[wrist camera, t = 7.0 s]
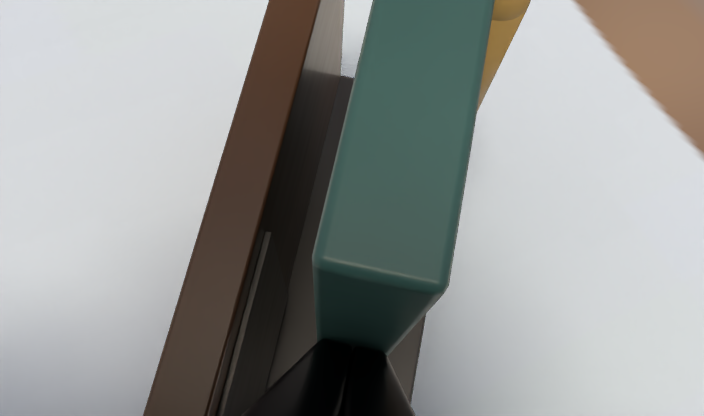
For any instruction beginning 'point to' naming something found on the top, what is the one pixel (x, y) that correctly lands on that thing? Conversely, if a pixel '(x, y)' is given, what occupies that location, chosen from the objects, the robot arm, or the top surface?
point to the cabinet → (264, 226)
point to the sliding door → (404, 165)
